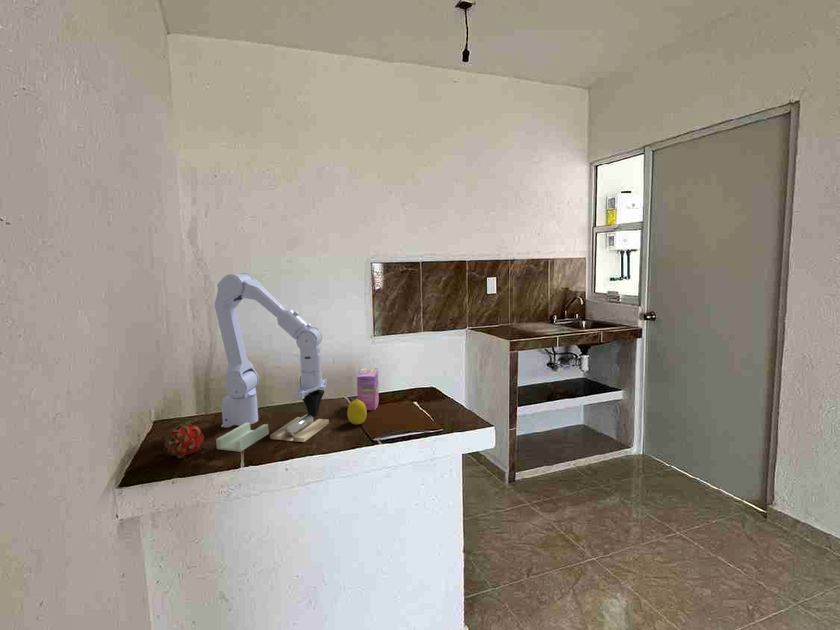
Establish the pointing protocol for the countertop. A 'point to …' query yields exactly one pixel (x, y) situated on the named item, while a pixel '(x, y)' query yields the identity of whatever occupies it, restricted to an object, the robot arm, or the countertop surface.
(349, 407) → the lemon
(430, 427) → the countertop surface
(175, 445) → the dragon fruit
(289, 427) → the axle
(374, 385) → the box
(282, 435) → the grooved wooden board
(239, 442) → the cradle
